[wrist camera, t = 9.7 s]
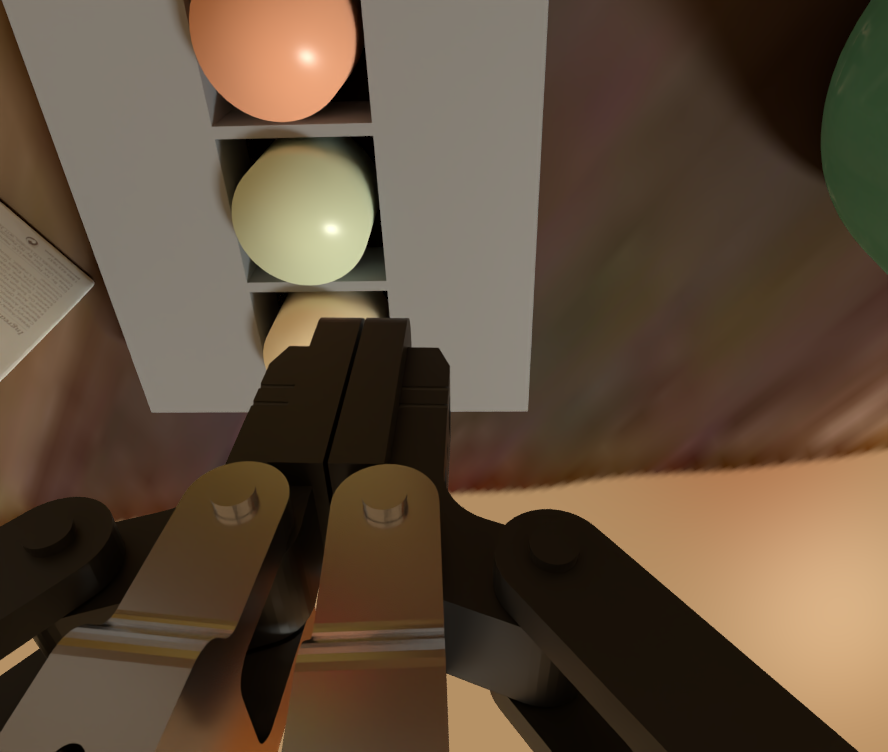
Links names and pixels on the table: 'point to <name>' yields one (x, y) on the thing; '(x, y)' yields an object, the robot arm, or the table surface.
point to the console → (226, 129)
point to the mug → (860, 133)
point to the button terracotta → (277, 52)
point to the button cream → (318, 316)
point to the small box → (32, 288)
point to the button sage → (307, 208)
